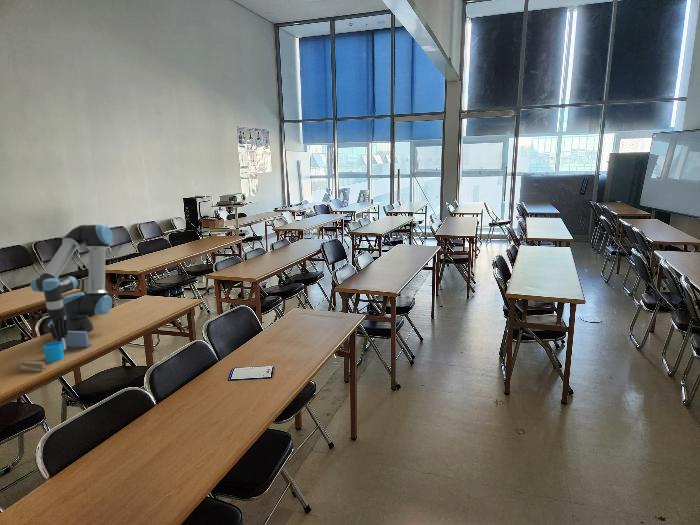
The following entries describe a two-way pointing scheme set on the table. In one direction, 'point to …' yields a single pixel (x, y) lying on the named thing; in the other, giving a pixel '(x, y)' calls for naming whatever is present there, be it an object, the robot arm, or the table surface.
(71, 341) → the screen
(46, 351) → the mug
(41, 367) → the block
